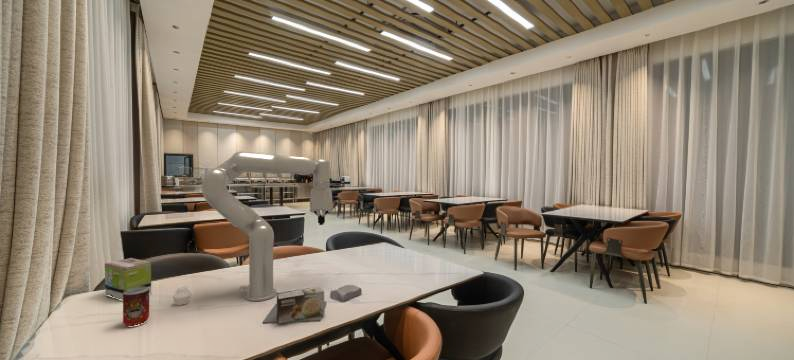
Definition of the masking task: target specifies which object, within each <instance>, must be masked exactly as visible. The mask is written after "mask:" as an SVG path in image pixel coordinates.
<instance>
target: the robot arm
mask: <svg viewBox="0 0 794 360" xmlns="http://www.w3.org/2000/svg"><path fill="white" fill-rule="evenodd" d="M330 164H331V163H330V161H329V160H328V159H314V160H313V159H311V158H310V157H303V156H302V157H301V156H291V155H280V154H272V153H261V152H253V151H236V152H234V153H233V154H232V156H231V157H230V158H228V159H227V160H225V161H224V162H223V163H221V164H220V165H218V166H216V167H214V168H211V169H209V170H208V171H207V172H206V173H205V174H204V176H203V180H202V183H201V193H202V195H203V198H204V199H205V201H206V202H207V203H208V204H209V206H211V208H213V209H214V210H215V211H216V212H217V213H218V214H219V215H221V216H222V217H223V218H224V219H226V220H227V222H229V223H230V224H231V225H232V226H233V227H235V228H237V229H240V231H242V232H243V233H245V235H246V236H248V241H249V242H248V243H249V246H248V248H249V251H248V262H249V263H248V264H249V267H248V268H249V270H248V273H249V275H248V276H249V279H248V281H249V283H248V284H249V285H247V286H246V285H245V286H244V285H240V286H239V292H240V293H245V299H246V301H249V302H259V301H260V302H261V301H267V300H270V299H272V298H274V297H277V293H278V291H277V289H276V288H274V243H275V233H274V230H273V227H272V226H271V225H270V224H269V222H268V221H267V220H266V219H264V218H263V217H262V216H260V215H259V213H257V212H256V211H255V210H254V209H252V208H251V207H250V206H249V205H247V204H243V202H241V201H240V200H239V199H237V198H236V196H234V195H233V194H232V193H231V192H230V191H229V190H228V188H227V186H228V185H229V184H230V183H231V182H233V181H234V180H236V179H237V178H239V177H240V176H242V175H243V174H244V173H254V174H255V173H258V174H259V173H260V174H270V175H279V174H280V175H281V174H289V175H291V174H292V175H301V176H309V175H312V182H311V183H309V186H310V187H312V188H311V189H310V196H309V213H312V214H313V213H314V214H315V215H316V216H317V223H318V225H319V226H323V225H324V224H325V223H326V215H327V214H330V213H333V212H334V209H333V192H332V189H331V188H330V184H331V183H330V172H331V171H330V169H331V167H330V166H331V165H330ZM321 211H322V214H321Z"/></svg>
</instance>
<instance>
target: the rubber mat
mask: <svg viewBox="0 0 794 360" xmlns="http://www.w3.org/2000/svg"><path fill="white" fill-rule="evenodd" d="M326 305H327V301H325V300H324V310H325V309H326ZM322 317H323V315H320V316H315V317H310V318H305V319H300V320H295V321H290V322H285V323H286V324H287V323H308V322H311V323H312V322H313V323H314V322H315V323H316V322H321V321H322ZM285 323H284V324H285ZM262 324H278V321H277V302H275V304H274V305H273V307H272V308H271V310H270V311H269V313H268V314H267V315H266V317H265V318H264V319H263V321H262Z"/></svg>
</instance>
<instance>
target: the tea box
mask: <svg viewBox="0 0 794 360" xmlns="http://www.w3.org/2000/svg"><path fill="white" fill-rule="evenodd" d="M104 283H105V284H104V287H105V290H104V293H105V294H106V295H110V296H112V297H115V298H118V299H122V300H123V293H124V292H125V291H126V290H128V289H130V288H133V287H139V286H144V287H148V288H149V293H151V294H152V262H151V261H150V260H149V261H147V260H144V259H137V258H133V257H130V258H125V259H124V258H123V259H120V260H115V261H111V262H106V263H104ZM105 294H104V295H105ZM106 295H105V296H106Z"/></svg>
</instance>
